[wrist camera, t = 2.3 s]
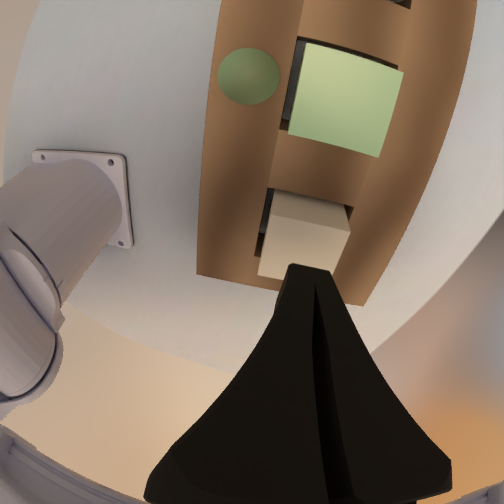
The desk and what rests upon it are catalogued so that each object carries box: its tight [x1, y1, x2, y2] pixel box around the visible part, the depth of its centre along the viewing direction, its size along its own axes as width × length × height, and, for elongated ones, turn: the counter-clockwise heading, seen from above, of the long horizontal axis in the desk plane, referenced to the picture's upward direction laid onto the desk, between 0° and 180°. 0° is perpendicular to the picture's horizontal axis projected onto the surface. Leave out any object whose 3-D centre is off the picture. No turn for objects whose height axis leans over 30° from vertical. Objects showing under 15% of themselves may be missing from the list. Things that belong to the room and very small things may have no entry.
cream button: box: [257, 189, 351, 280], centre depth 16 cm, size 4×4×3 cm
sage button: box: [288, 43, 404, 158], centre depth 11 cm, size 4×4×3 cm
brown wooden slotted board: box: [196, 0, 477, 306], centre depth 12 cm, size 12×26×3 cm, turn 171°
